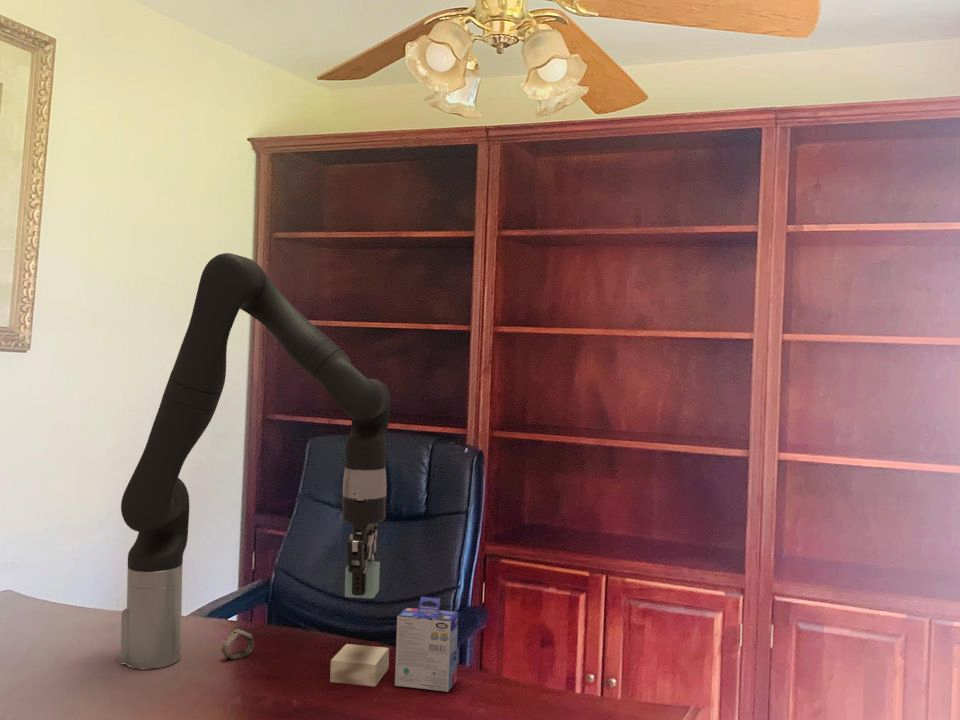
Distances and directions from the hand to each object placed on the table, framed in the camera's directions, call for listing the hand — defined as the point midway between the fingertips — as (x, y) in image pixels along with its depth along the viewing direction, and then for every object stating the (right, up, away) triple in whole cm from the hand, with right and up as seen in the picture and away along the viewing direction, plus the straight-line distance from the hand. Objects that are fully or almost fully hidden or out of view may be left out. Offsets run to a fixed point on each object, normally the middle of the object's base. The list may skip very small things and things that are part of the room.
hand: (362, 589), depth 144 cm
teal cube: (0, -1, 0) cm, 1 cm away
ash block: (0, -15, 0) cm, 15 cm away
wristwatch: (-24, -15, +7) cm, 29 cm away
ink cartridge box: (+11, -16, -3) cm, 20 cm away
